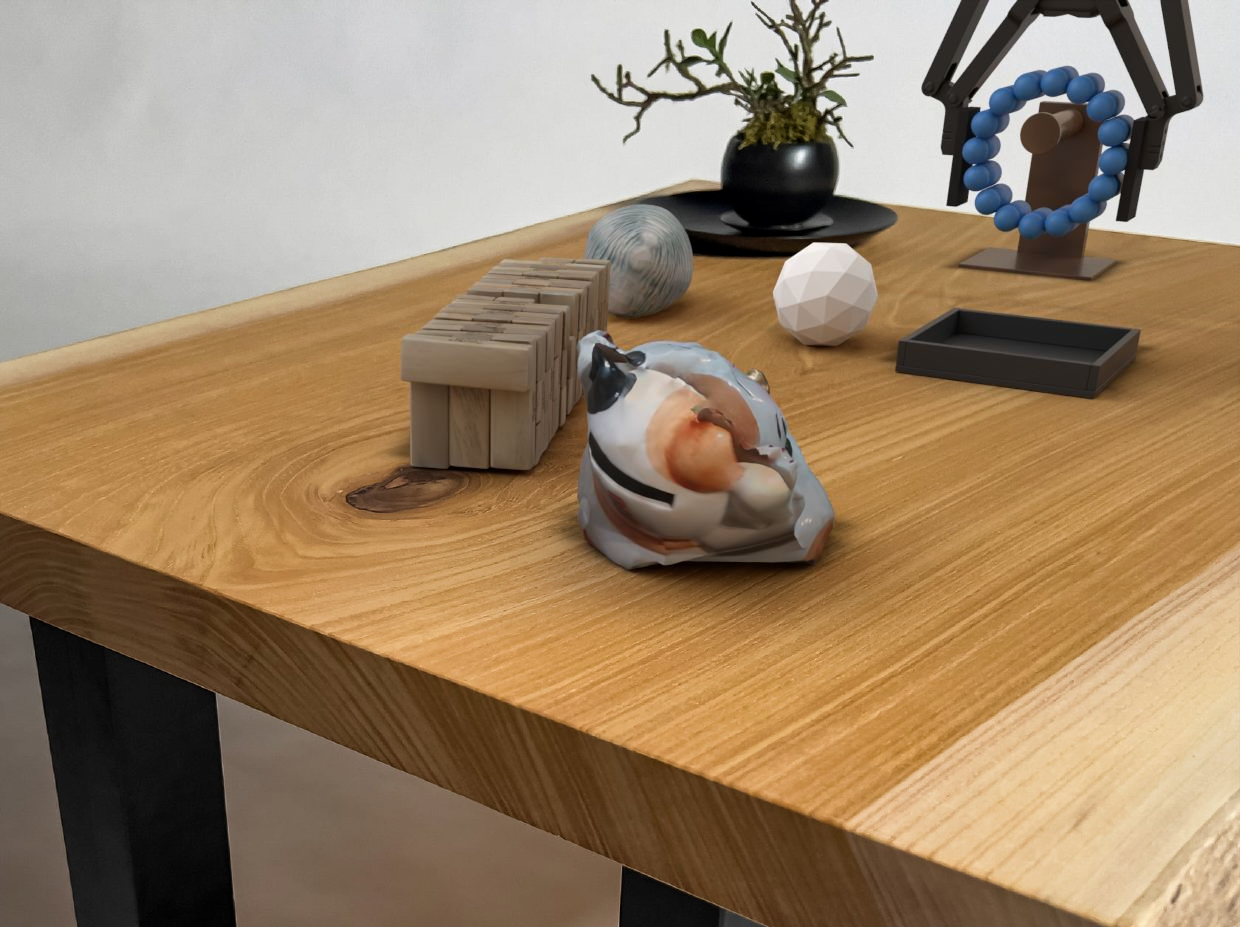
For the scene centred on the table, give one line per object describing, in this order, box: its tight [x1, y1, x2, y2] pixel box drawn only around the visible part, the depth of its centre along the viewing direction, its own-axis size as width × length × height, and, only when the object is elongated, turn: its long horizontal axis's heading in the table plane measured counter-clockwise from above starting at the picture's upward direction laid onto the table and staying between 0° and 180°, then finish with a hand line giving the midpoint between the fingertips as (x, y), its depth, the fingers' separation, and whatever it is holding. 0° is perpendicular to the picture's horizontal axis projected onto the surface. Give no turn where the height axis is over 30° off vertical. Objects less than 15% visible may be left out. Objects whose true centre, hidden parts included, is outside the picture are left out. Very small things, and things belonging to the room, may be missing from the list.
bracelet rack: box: [957, 100, 1117, 282], centre depth 146 cm, size 12×12×15 cm
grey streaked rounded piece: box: [584, 203, 694, 320], centre depth 135 cm, size 14×10×10 cm
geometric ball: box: [772, 242, 879, 347], centre depth 123 cm, size 8×8×8 cm
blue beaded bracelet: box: [962, 65, 1135, 240], centre depth 112 cm, size 11×5×11 cm, turn 58°
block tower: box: [400, 256, 611, 471], centre depth 105 cm, size 8×8×29 cm
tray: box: [894, 307, 1142, 400], centre depth 118 cm, size 14×13×2 cm
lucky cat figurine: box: [576, 330, 836, 570], centre depth 80 cm, size 15×12×14 cm
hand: (1039, 211), depth 114 cm, fingers closed on blue beaded bracelet, 11 cm apart
